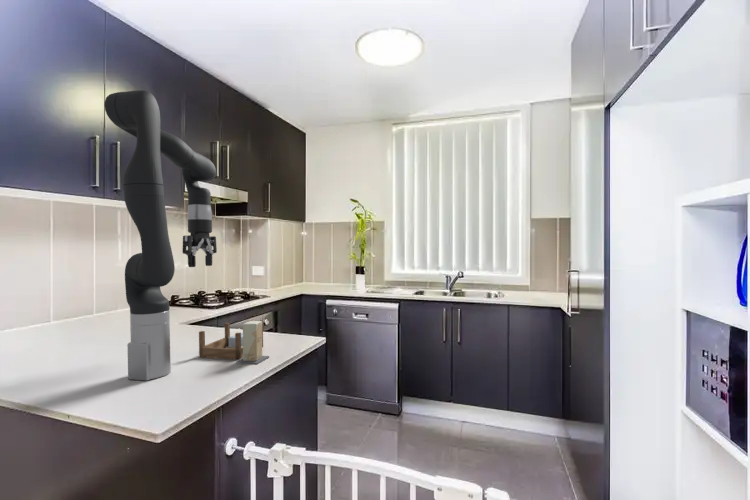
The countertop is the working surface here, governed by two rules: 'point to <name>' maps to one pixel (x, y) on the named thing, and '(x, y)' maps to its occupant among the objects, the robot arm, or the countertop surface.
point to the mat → (253, 361)
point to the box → (252, 340)
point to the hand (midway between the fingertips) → (200, 266)
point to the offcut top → (232, 341)
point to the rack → (222, 346)
